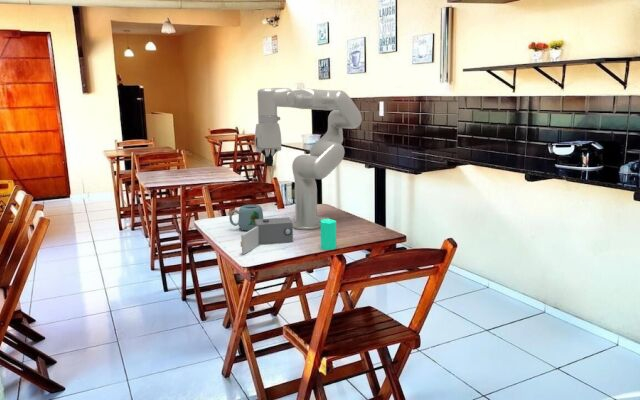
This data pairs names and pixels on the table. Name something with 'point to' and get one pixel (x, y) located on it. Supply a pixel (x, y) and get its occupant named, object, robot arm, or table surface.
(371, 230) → the table surface
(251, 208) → the mug
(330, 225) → the candle
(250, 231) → the side door
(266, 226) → the camera body
